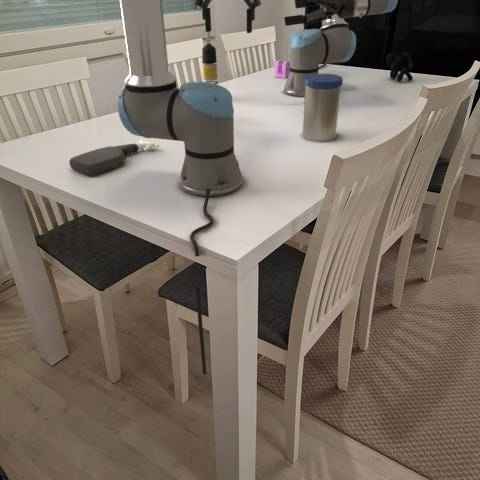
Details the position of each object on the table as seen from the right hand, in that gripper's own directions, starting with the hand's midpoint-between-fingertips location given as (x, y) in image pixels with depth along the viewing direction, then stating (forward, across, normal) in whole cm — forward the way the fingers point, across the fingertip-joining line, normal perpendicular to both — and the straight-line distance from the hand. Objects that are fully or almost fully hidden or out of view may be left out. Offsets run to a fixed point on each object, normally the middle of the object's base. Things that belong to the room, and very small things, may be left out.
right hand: (289, 12), depth 146 cm
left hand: (+22, -6, -6) cm, 24 cm away
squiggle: (-60, +46, -18) cm, 78 cm away
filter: (+26, +35, -16) cm, 46 cm away
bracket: (-15, +66, -3) cm, 68 cm away
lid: (-1, -19, -27) cm, 33 cm away
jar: (+1, -11, -42) cm, 44 cm away
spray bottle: (+62, -18, -40) cm, 76 cm away
